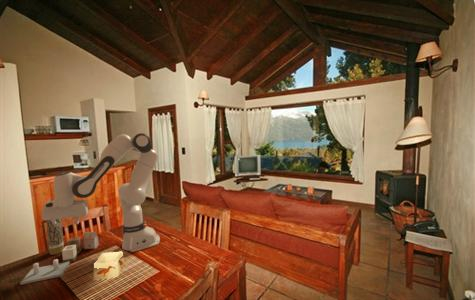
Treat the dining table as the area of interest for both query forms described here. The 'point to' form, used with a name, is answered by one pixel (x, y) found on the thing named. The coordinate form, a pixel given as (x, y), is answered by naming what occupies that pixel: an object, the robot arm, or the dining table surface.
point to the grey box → (90, 240)
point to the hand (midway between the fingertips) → (66, 225)
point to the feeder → (75, 243)
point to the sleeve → (69, 253)
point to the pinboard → (45, 272)
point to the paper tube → (55, 237)
